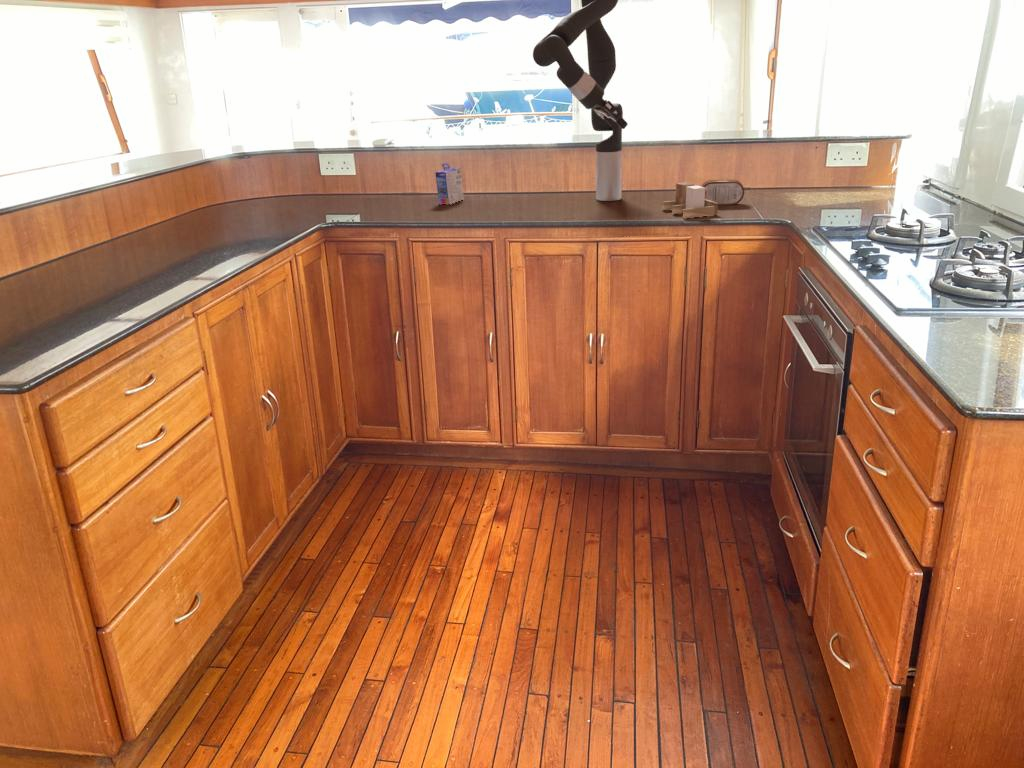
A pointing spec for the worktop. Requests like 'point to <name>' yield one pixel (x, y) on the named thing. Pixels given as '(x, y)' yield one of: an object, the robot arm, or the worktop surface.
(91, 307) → the worktop surface
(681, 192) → the tan block
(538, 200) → the worktop surface
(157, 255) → the worktop surface
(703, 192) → the white block
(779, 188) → the worktop surface
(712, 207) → the rack
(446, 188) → the ink cartridge box
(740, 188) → the tin
